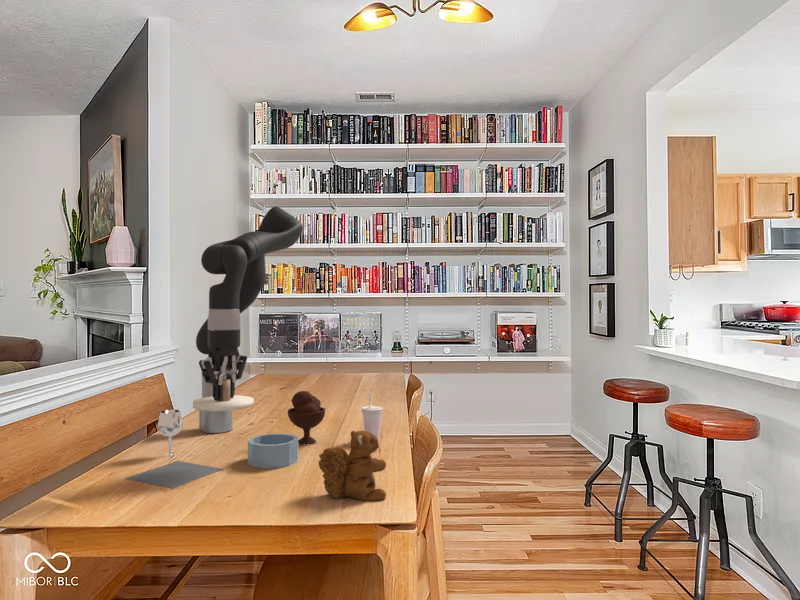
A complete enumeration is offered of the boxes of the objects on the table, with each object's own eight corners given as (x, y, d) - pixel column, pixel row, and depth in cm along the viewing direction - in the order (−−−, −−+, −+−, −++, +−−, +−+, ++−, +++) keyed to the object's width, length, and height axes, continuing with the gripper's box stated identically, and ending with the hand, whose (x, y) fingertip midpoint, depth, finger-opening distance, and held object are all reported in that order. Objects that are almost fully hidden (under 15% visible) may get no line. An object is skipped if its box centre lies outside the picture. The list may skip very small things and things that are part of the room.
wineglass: (186, 455, 142) (187, 410, 142) (170, 462, 137) (171, 414, 137) (169, 453, 144) (169, 408, 144) (152, 459, 139) (153, 412, 139)
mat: (124, 480, 122) (124, 478, 122) (177, 463, 136) (177, 460, 136) (172, 491, 116) (172, 488, 116) (223, 471, 129) (223, 468, 129)
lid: (179, 407, 128) (179, 381, 128) (224, 398, 140) (224, 374, 140) (223, 413, 121) (223, 385, 121) (265, 403, 134) (266, 378, 134)
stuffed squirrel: (389, 500, 111) (389, 436, 111) (320, 505, 108) (320, 439, 108) (380, 484, 121) (381, 425, 121) (317, 488, 118) (317, 428, 118)
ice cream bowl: (318, 448, 150) (318, 394, 150) (280, 446, 152) (281, 392, 152) (331, 439, 160) (331, 388, 160) (295, 437, 162) (295, 387, 162)
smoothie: (361, 438, 161) (361, 391, 161) (382, 438, 162) (382, 391, 162) (361, 444, 155) (361, 395, 155) (383, 443, 155) (384, 394, 155)
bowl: (238, 466, 133) (238, 442, 133) (269, 454, 144) (269, 431, 144) (277, 473, 128) (277, 447, 128) (307, 459, 139) (307, 436, 139)
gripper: (234, 326, 139) (233, 393, 139) (189, 328, 127) (189, 402, 127) (256, 327, 135) (256, 396, 135) (213, 329, 123) (212, 405, 123)
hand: (223, 398), depth 131 cm, fingers closed on lid, 3 cm apart
